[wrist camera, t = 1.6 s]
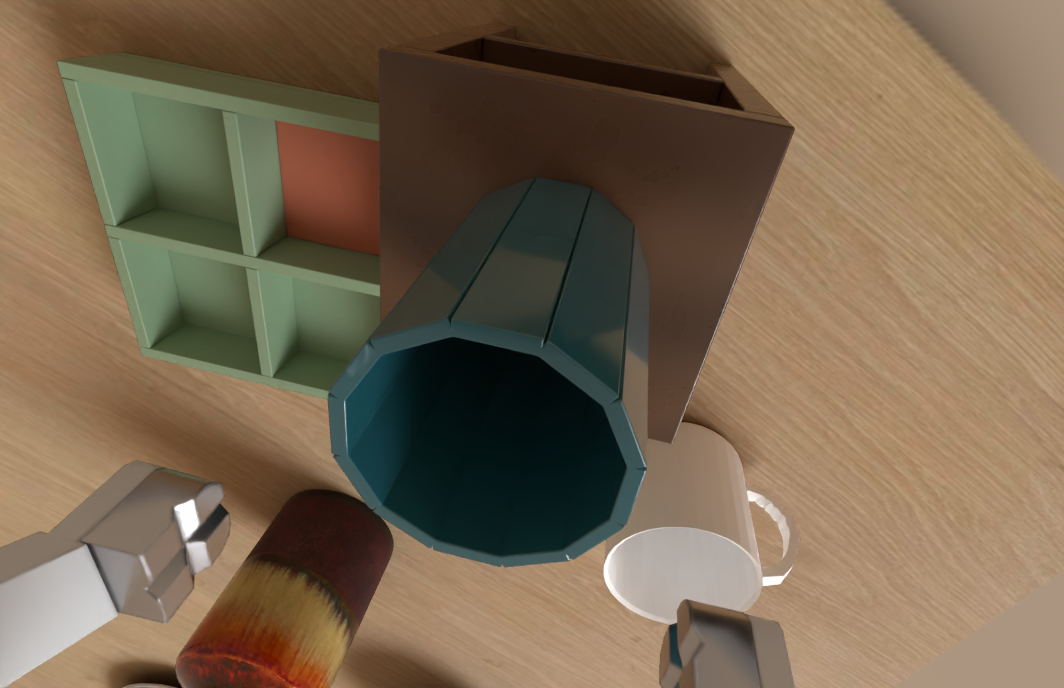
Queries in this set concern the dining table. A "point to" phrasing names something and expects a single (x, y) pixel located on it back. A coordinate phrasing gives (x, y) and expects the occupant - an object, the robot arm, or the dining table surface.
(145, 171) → the tray
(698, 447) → the mug
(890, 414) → the dining table surface
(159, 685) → the ceramic plate
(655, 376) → the shelf
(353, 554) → the vase
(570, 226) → the cup
